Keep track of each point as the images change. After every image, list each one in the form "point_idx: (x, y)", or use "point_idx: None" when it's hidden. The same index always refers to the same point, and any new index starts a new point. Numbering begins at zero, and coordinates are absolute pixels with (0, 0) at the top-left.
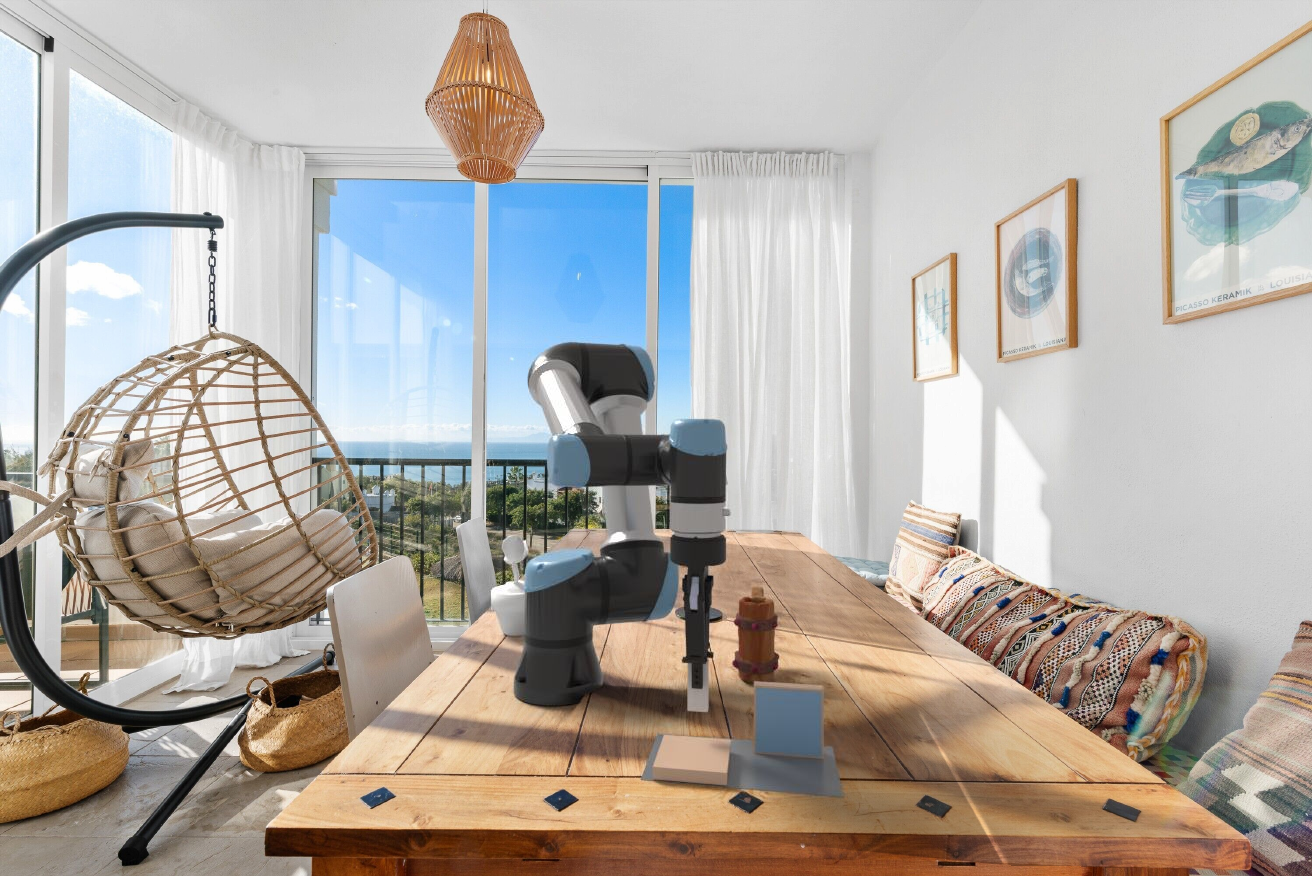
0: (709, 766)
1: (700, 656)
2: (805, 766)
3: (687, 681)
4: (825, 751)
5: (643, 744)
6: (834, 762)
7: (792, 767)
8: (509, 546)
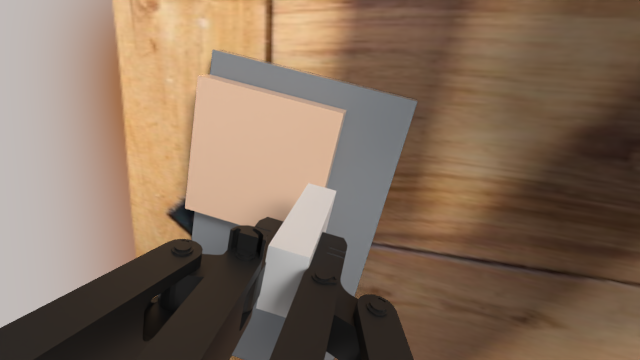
0: (203, 184)
1: (159, 300)
2: (261, 327)
3: (288, 214)
4: None
5: (410, 65)
6: None
7: (258, 309)
8: None
